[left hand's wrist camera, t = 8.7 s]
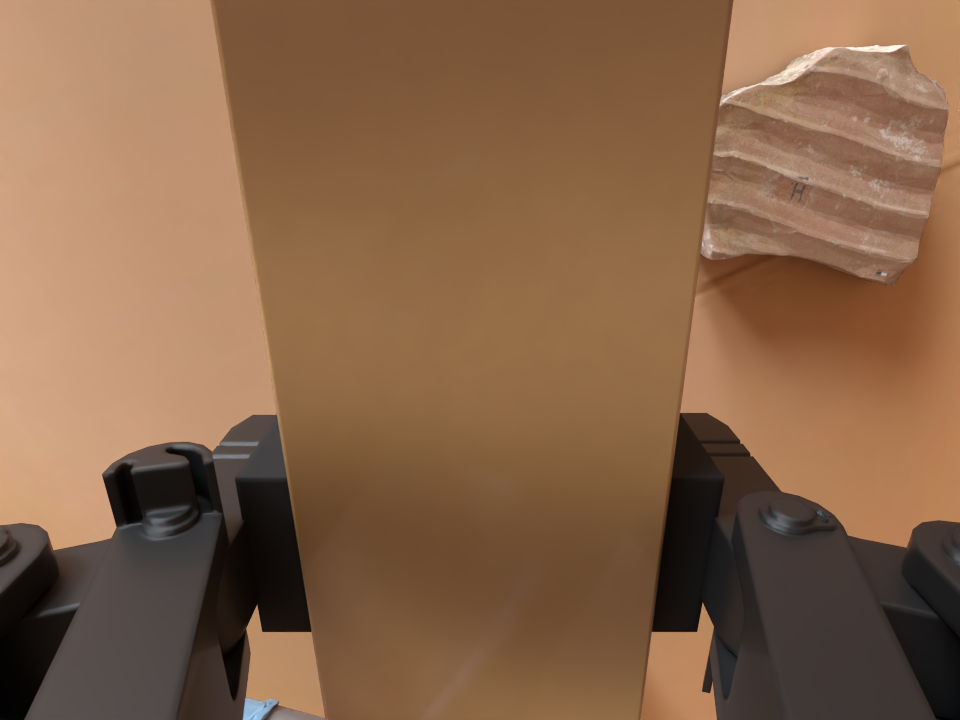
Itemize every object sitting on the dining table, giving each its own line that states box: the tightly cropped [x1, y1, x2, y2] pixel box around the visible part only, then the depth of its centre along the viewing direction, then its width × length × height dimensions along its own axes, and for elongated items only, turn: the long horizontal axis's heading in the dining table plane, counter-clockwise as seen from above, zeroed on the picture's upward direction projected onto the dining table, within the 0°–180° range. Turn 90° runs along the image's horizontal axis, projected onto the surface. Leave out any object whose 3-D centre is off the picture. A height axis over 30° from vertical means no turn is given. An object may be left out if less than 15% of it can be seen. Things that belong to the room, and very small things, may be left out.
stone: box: [701, 45, 948, 286], centre depth 30 cm, size 13×12×3 cm
